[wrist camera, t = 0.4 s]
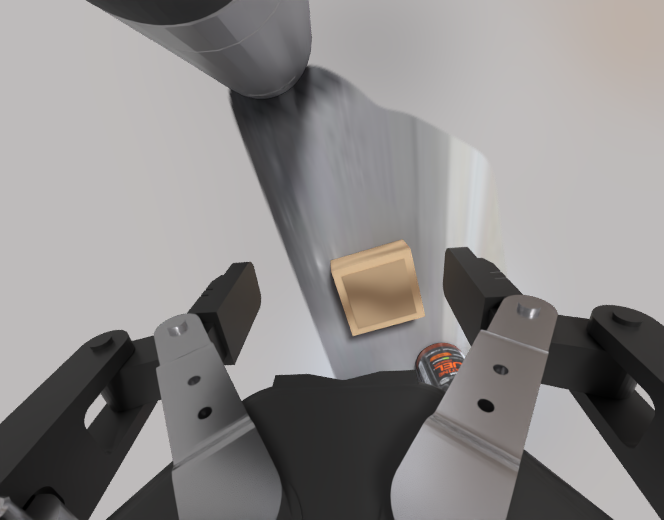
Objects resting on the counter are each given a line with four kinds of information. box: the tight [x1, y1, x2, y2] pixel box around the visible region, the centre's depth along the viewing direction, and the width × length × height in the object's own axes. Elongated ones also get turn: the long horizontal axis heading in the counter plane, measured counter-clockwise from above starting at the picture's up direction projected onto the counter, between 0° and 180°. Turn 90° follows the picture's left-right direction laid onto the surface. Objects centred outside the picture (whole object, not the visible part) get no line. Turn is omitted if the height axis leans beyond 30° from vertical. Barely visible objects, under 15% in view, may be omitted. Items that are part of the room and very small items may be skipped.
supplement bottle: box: [416, 343, 465, 391], centre depth 32 cm, size 6×6×11 cm
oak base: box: [331, 239, 425, 336], centre depth 32 cm, size 8×8×3 cm
